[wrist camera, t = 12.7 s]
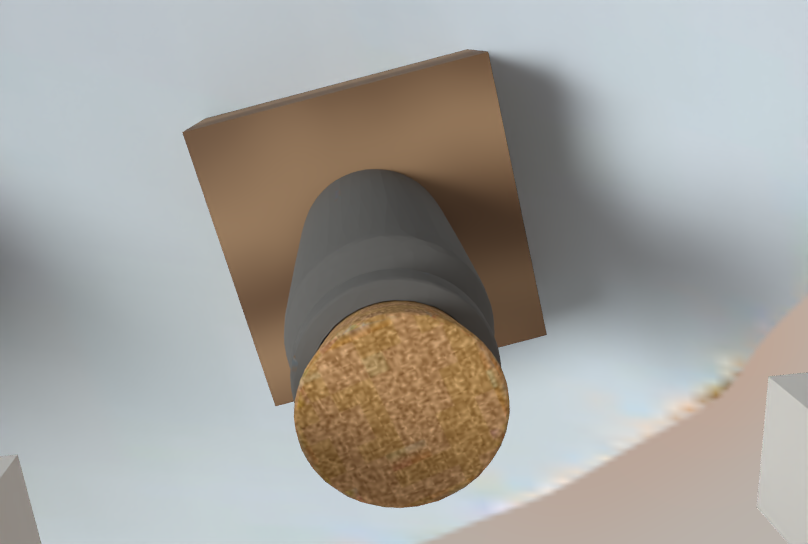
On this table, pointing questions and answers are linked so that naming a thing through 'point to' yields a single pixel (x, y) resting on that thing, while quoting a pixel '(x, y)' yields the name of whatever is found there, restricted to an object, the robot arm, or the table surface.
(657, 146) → the table surface
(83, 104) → the table surface
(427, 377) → the bottle
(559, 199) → the table surface
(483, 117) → the walnut block
